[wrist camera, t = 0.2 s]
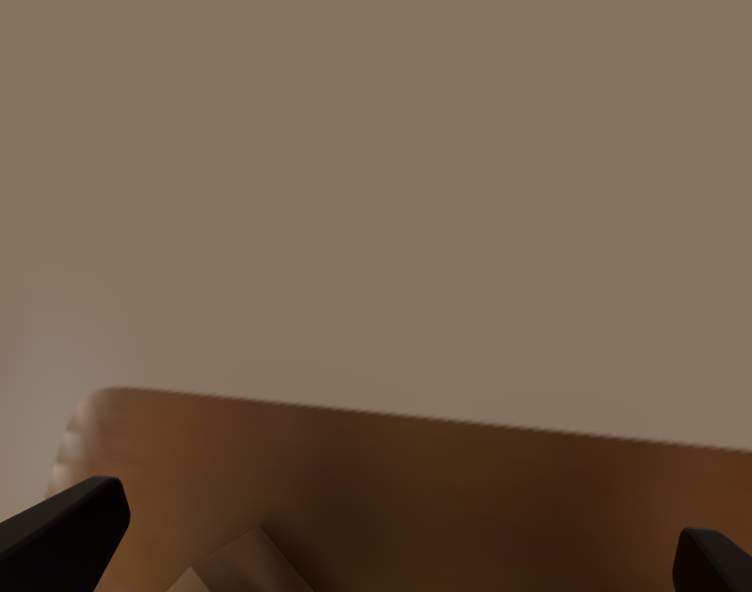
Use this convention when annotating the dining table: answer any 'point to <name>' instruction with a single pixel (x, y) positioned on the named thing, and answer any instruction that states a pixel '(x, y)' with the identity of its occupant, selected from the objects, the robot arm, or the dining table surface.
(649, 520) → the dining table surface
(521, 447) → the dining table surface
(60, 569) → the robot arm
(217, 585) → the walnut block
